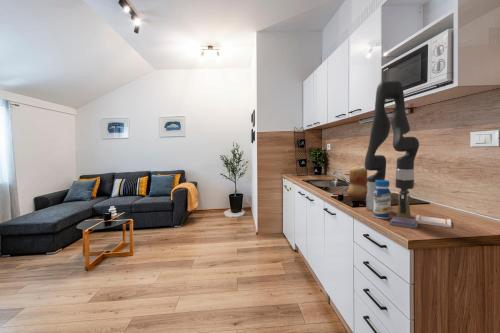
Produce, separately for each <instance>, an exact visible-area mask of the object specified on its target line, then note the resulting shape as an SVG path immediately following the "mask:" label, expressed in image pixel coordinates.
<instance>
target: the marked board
mask: <svg viewBox="0 0 500 333" xmlns="http://www.w3.org/2000/svg"><path fill="white" fill-rule="evenodd" d="M414 219H416V221H418V224H421V225H423V224H424V225H429V226H437V227H445V228H450V229H451V228H452V221H451V219H450V218H441V217H435V216H433V217H432V216H427V215H426V216H425V215H416V216H415V218H414Z"/></svg>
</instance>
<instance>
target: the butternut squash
mask: <svg viewBox="0 0 500 333" xmlns="http://www.w3.org/2000/svg"><path fill="white" fill-rule="evenodd" d="M348 178H349V186H348V188H347V192H346V194H347V197H348V198H349V200H351V201H353V202H357V201H360V202H359V203H361V202H363V201H366V194H367V178H368V170H366V169H365V166H362V165H360V166H358V165H357V166H352V167H351V168H350V170H349V176H348Z"/></svg>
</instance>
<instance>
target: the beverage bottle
mask: <svg viewBox="0 0 500 333" xmlns="http://www.w3.org/2000/svg"><path fill="white" fill-rule="evenodd" d="M375 186H376V188H375V190H374V196H373V199H374V211H373V212H372V213H373V214H372V216H373V217H375V218H377V219H384V220H387V219H391V202H392V197H391V193H392V192H391V190H390V188H389V187H390V180H388V179H385V180H376V181H375Z"/></svg>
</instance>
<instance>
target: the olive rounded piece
mask: <svg viewBox="0 0 500 333" xmlns="http://www.w3.org/2000/svg"><path fill="white" fill-rule="evenodd" d="M399 197H400V196H399V194H398V195H397V200H398V206H397V209H396V210H397V211H396V216H395V217H401V218H408V219H412V216H411V215H412V214H411V207H410V206H411V205H410V201H411V196H410V195H409V196H408V202H407V204H406V205H407V206H406V214H405V213H400V210H401V206H400V205H399V204H400V201H399ZM406 199H407V196H406ZM402 203H403V204H405V202H402Z"/></svg>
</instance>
